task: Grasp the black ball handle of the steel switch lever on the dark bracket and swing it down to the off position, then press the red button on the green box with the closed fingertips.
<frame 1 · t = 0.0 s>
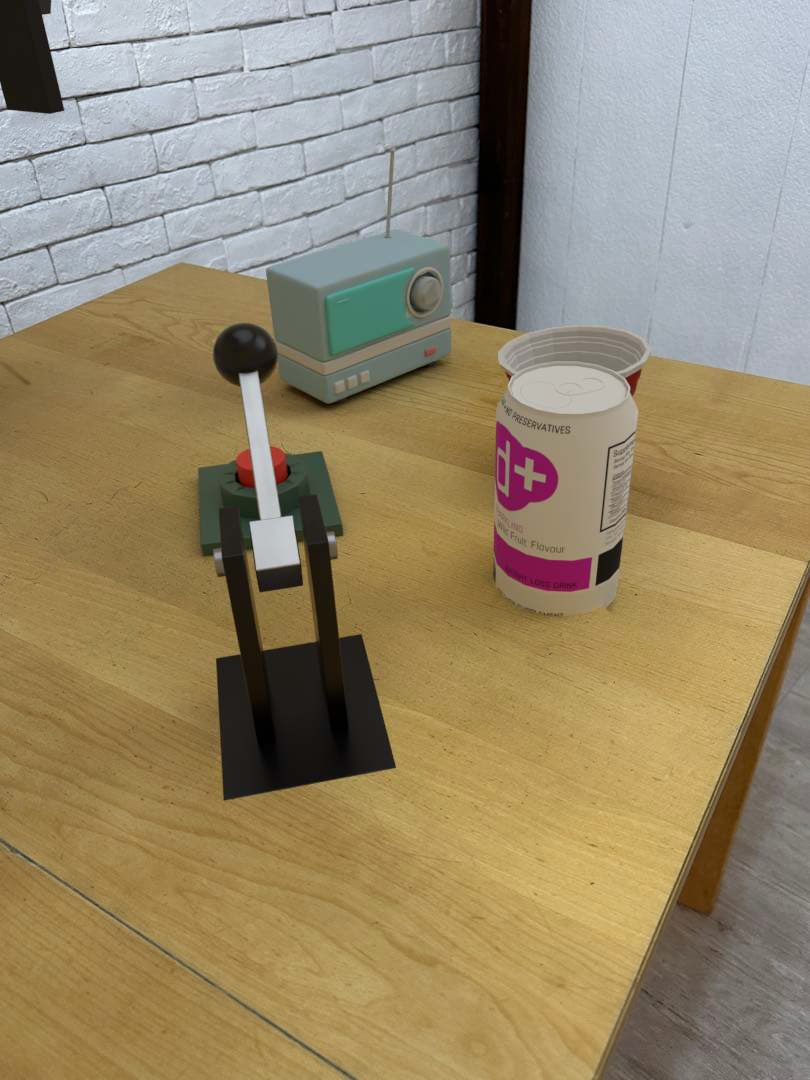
lever: (259, 445, 48), point 15 cm above the table, hinge at 26.0°
radio: (371, 378, 90), on the table
plastic cup: (563, 491, 71), on the table
bracket: (301, 723, 52), on the table
supplement can: (554, 592, 61), on the table
button: (262, 467, 67), point 4 cm above the table, slide at 0.1 cm
button box: (269, 518, 70), on the table
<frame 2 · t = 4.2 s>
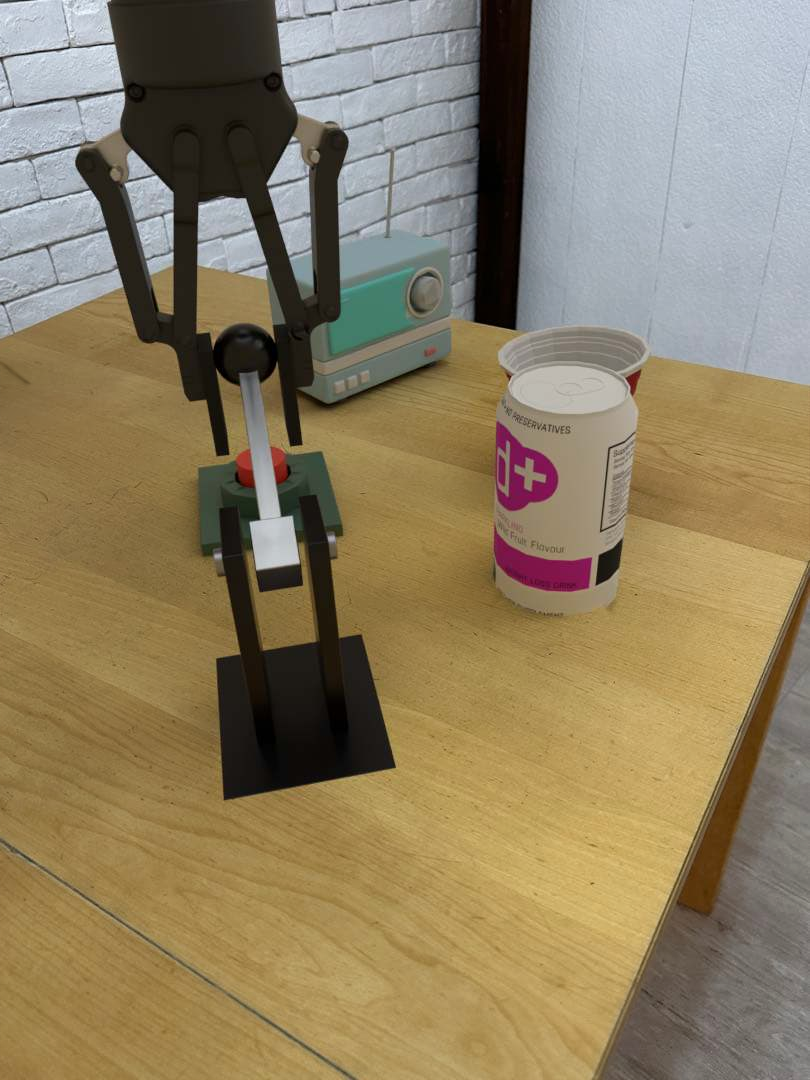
hand: (258, 439, 54), 12 cm above the table, tool pointing down, fingers closed on lever, 4 cm apart
lever: (259, 445, 48), point 15 cm above the table, hinge at 26.0°, touching gripper
everything else where it was.
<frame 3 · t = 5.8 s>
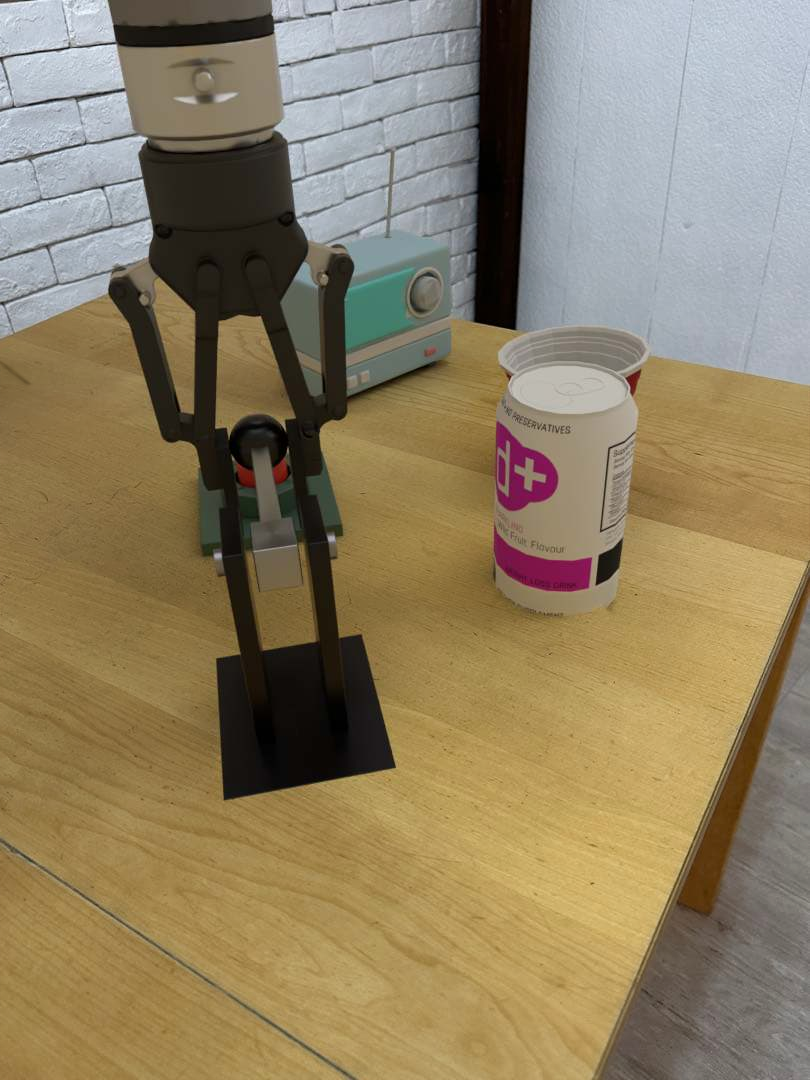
hand: (270, 521, 59), 6 cm above the table, tool pointing down, fingers closed on lever, 4 cm apart
lever: (266, 490, 51), point 12 cm above the table, hinge at -2.8°, touching gripper
everything else where it was.
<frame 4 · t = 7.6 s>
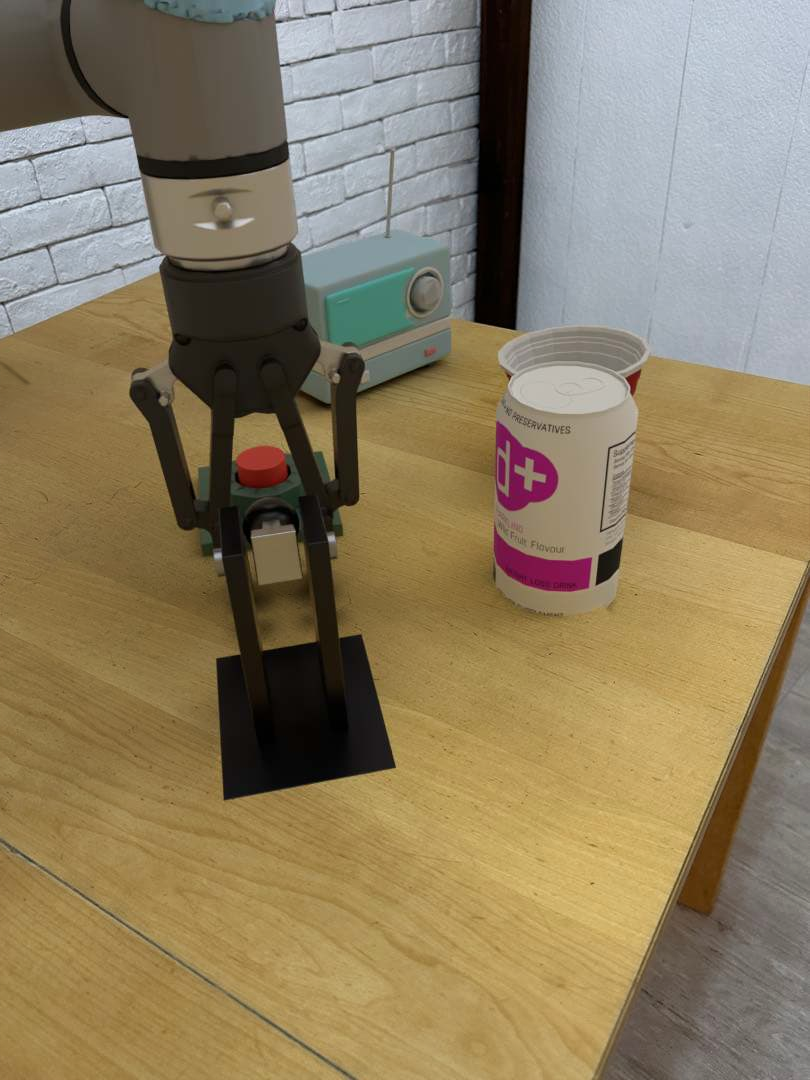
hand: (283, 598, 61), 0 cm above the table, tool pointing down, fingers open, 4 cm apart
lever: (273, 537, 51), point 9 cm above the table, hinge at -26.8°
everything else where it was.
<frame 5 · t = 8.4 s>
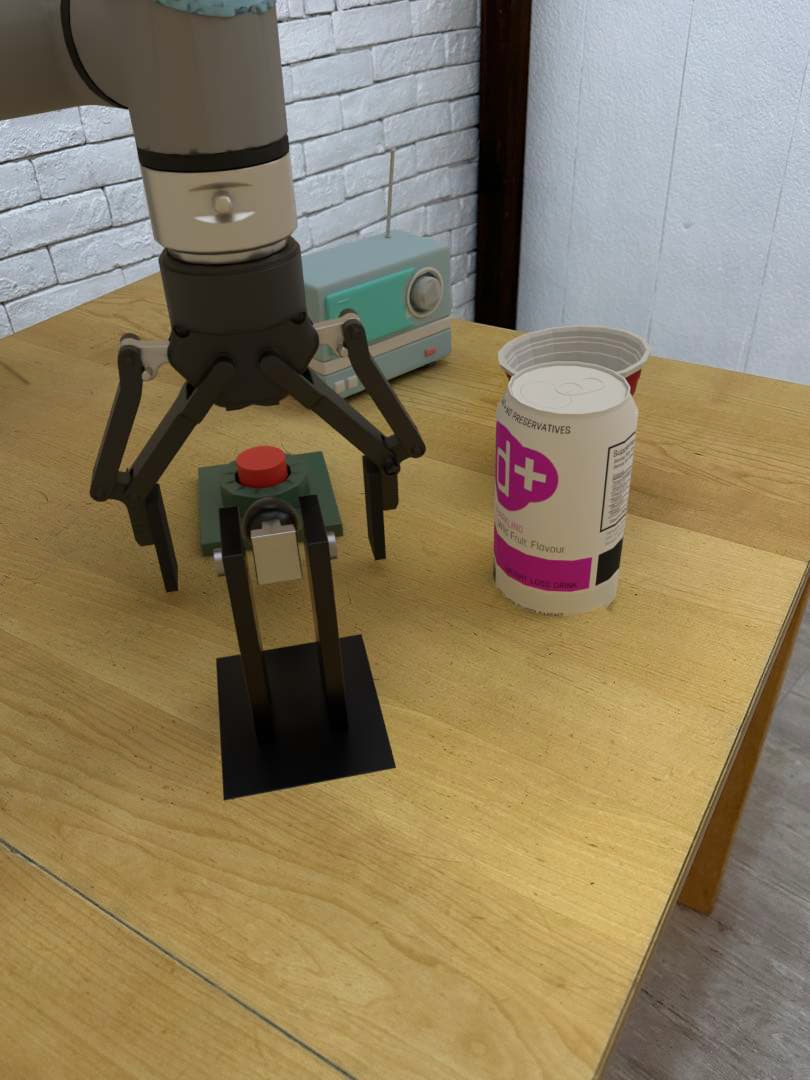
hand: (276, 564, 60), 3 cm above the table, tool pointing down, fingers open, 13 cm apart
nothing on the table moved.
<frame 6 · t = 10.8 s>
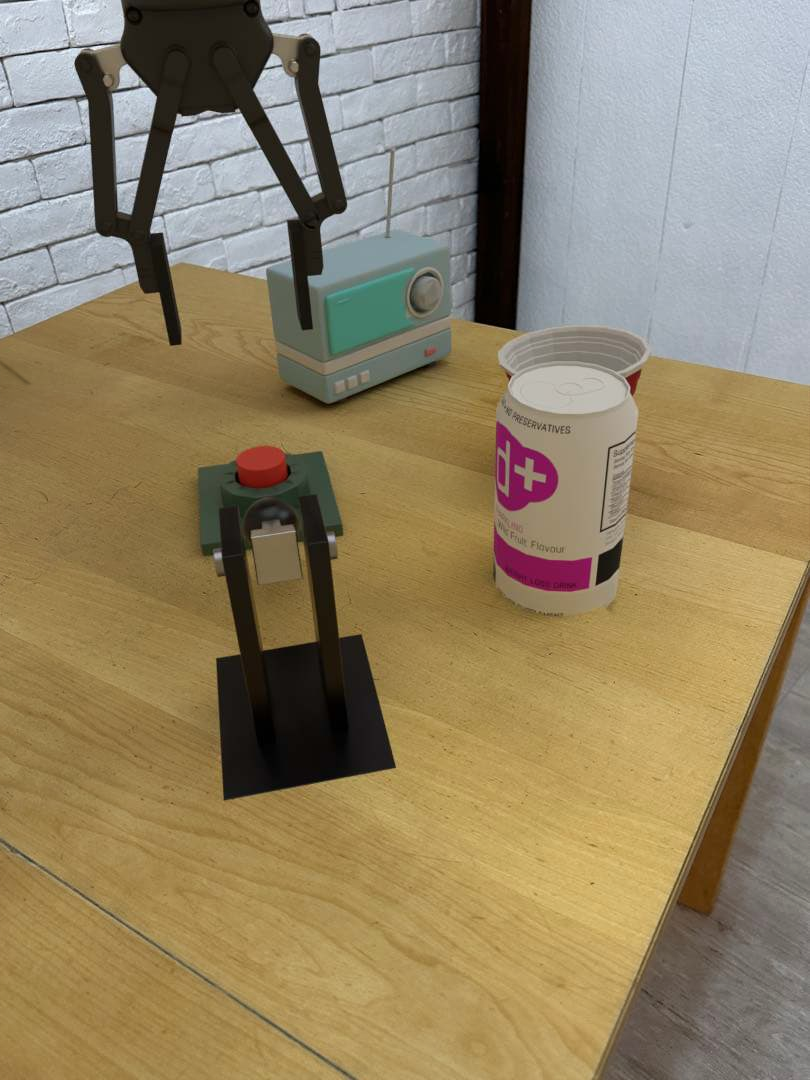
hand: (241, 329, 61), 15 cm above the table, tool pointing down, fingers open, 8 cm apart
nothing on the table moved.
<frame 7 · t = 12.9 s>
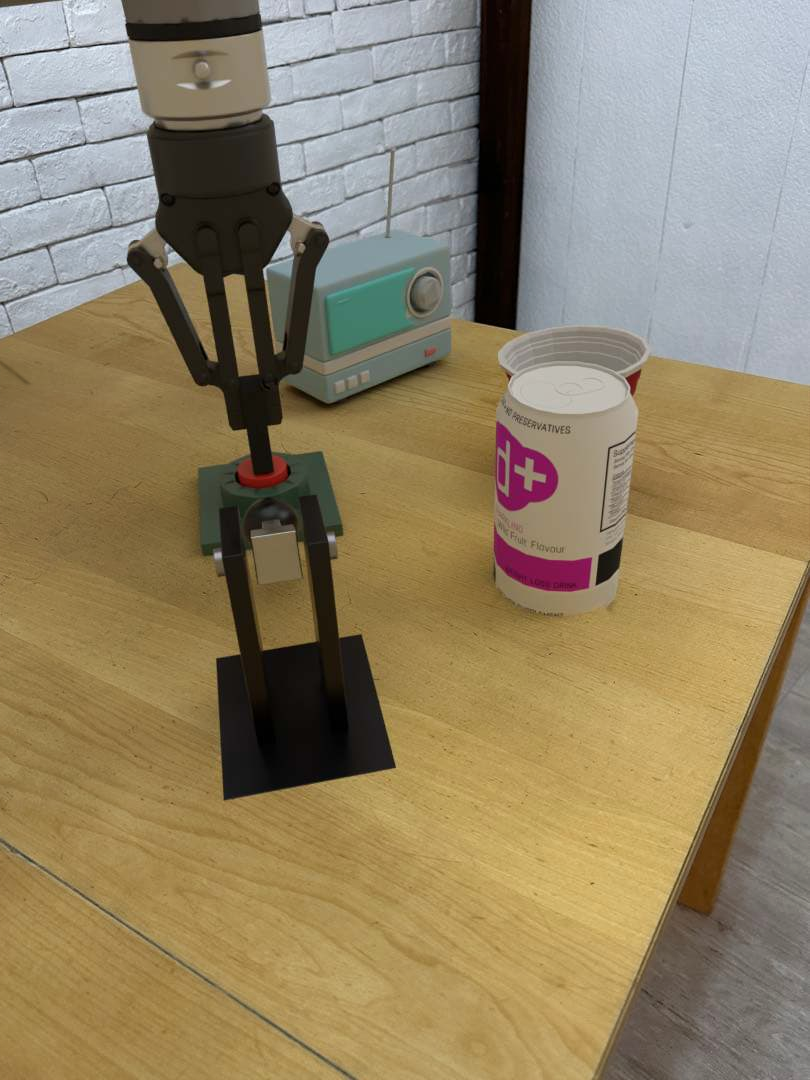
hand: (262, 463, 67), 5 cm above the table, tool pointing down, fingers closed
button: (263, 476, 67), point 4 cm above the table, slide at -0.7 cm, touching gripper
everything else where it was.
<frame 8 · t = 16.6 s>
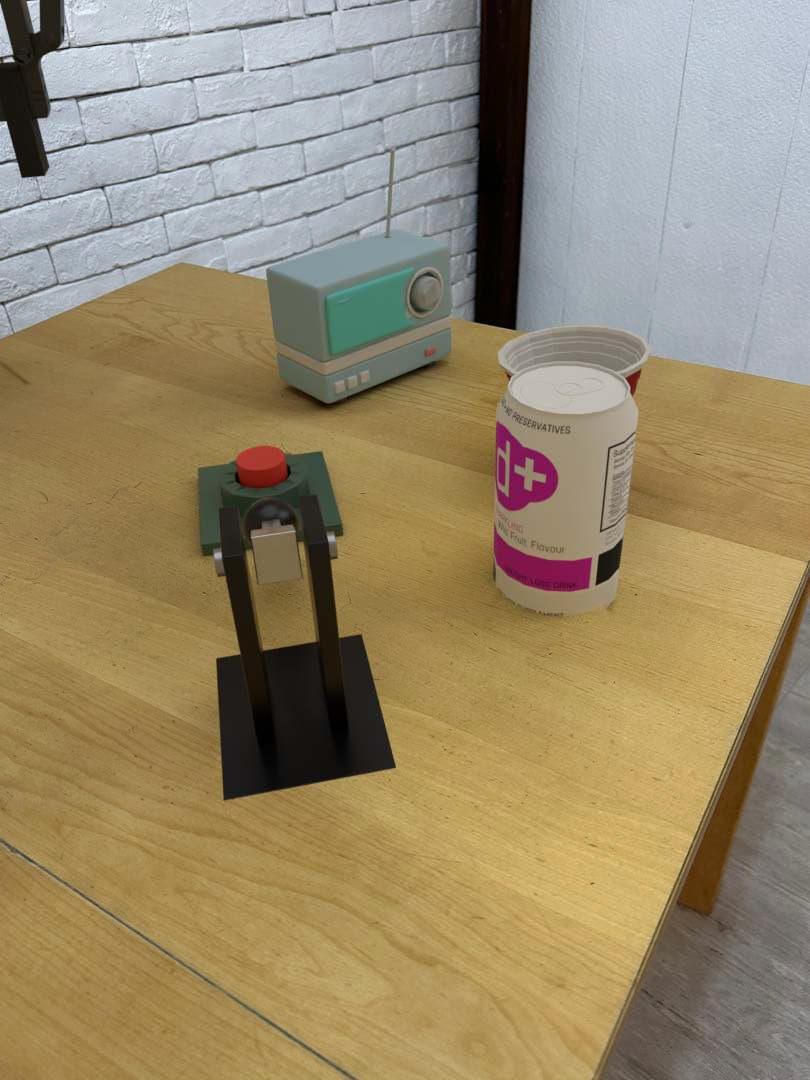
hand: (35, 172, 61), 24 cm above the table, tool pointing down, fingers closed
button: (262, 467, 67), point 4 cm above the table, slide at 0.1 cm
everything else where it was.
at the end: lever at -27° (first picture: +26°); button pushed in 1.0 cm at the most during the clip, back to where it started at the end; button slide at 0.1 cm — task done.
